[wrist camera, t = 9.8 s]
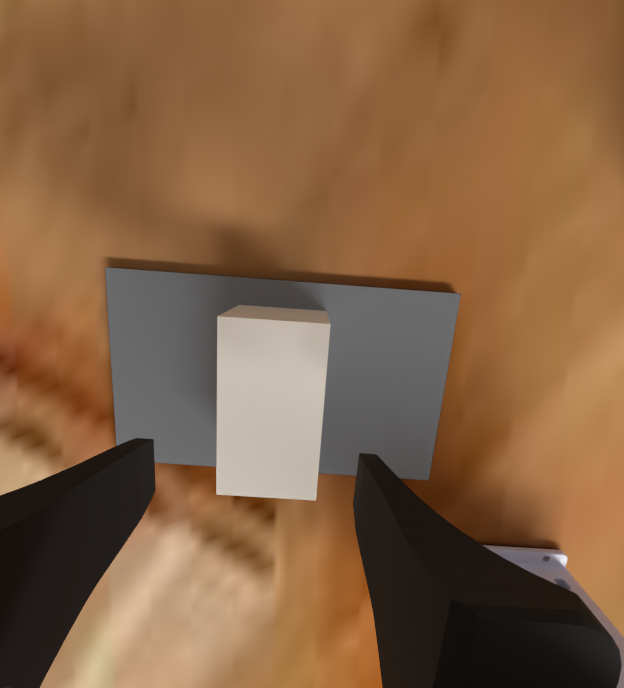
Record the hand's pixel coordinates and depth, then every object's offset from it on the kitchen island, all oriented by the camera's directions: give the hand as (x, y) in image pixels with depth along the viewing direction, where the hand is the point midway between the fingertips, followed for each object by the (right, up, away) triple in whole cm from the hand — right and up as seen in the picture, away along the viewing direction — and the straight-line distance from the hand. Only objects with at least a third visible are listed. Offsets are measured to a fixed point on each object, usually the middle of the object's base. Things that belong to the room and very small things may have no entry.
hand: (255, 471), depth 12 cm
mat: (0, +2, +9) cm, 9 cm away
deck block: (0, +2, +9) cm, 9 cm away
